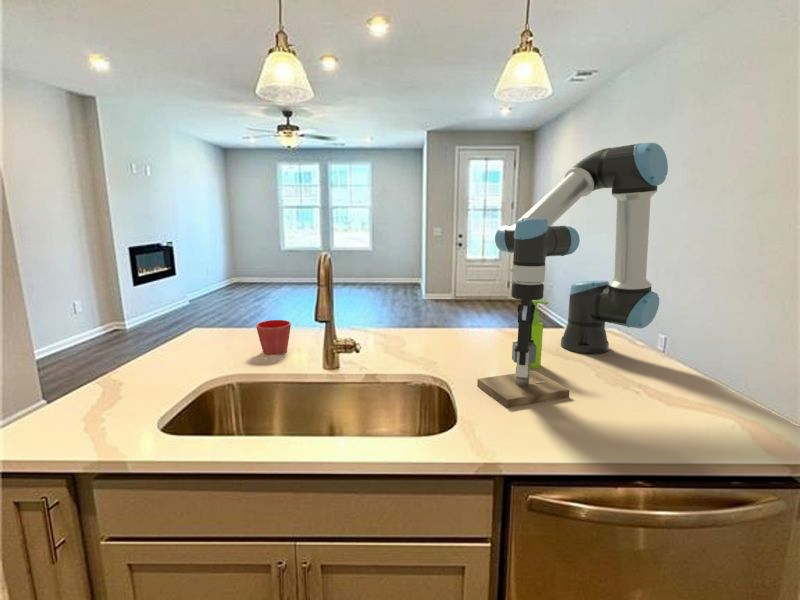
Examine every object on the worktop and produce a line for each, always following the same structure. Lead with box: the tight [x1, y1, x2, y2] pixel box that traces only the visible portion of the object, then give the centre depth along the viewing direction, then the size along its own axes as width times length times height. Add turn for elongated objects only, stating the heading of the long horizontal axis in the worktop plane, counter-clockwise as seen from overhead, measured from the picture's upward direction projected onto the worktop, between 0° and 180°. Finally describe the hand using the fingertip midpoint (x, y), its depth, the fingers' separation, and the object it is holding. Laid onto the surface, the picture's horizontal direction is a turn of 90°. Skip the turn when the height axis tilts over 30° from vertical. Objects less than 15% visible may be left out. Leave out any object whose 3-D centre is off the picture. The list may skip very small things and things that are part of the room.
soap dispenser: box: [530, 299, 549, 369], centre depth 127 cm, size 6×7×20 cm
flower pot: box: [256, 319, 292, 356], centre depth 141 cm, size 11×11×10 cm
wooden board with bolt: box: [476, 364, 571, 408], centre depth 108 cm, size 18×14×8 cm
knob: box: [511, 340, 536, 364], centre depth 107 cm, size 6×5×5 cm
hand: (522, 371), depth 108 cm, fingers closed on knob, 6 cm apart
